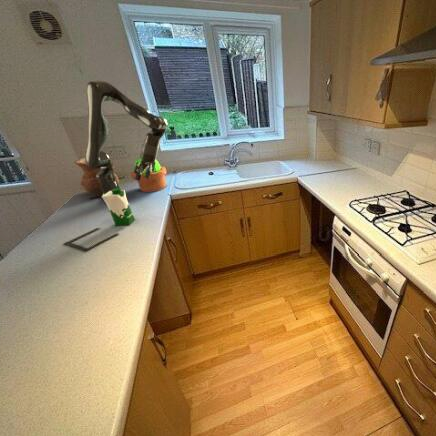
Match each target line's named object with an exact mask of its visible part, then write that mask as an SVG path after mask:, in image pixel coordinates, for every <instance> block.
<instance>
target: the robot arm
mask: <svg viewBox="0 0 436 436" xmlns="http://www.w3.org/2000/svg"><path fill="white" fill-rule="evenodd" d="M85 90H86V91H85V92H86V101H87V137H86V148H85V153H84V158H85V161H86V164H87V165H88V166H89V167H90V168H92V169H97V168H100V170H99V172H98V173H97V174H96V178H97V180H98V182H99V184H100V187H101V189H102V192H103V195H104V194H106V193H108V192H109V191H112V189H114V188H120V186H119V184H118V183H117V181H116V178H115V176H114V174H115V169H114V170H113V167H112V164H111V161H112V160H111V158H110V156H109V155H108V154H107V152H105V151H104V150H101V148H102V147H103V145H104V144H105V143H106V141H107V139H108V137H109V130H110V124H109V121H108V120H107V118H106V116H105V115H104V112H103V102H114V103H117V104H119V105H120V106H121V107H122V109H124V111H125V112H126V113H127V114H128V115H130V116H131V117H133V118H134V119H136V120H138V121H139V122H141V123H142V124H144V125H145V126H146V127H148V128H149V129H151V130H150V131H148V132H147V133H146V134H145V137H144V142H143V144H142V146H141V151H140V154H139V157H140V159H141V160H142V161H141V163H139V162H137V163H136V166H135V165H134V167H135V168H134V170H133V171H134V172H135V173H136V178H135V179H136V180H135V181H137V182H138V181H140V178H141V174H142V173H143V172H145V170H147V171H146V175H145V178H147V179H149V177H150V174H151V173H152V171H154V168H155V164H156V162H155V161H156V160H157V157H158V153H159V147H160V144H161V140H162V138H164V135H165V133H166V132H167V129H168V122H167V119H166V118H165V117H163V116H159V115H155V114H153V113H151V112H150V110H149V109H147V108H146V107H143V105H141V104H139V103H137V102H136V101H133V100H132V99H131V98H129V97H128V96H127V95H126V94H124V93H123V92H121V91H120V90H119V89H118V88H117V87H115V86H114V85H113V84H111V83H110V82H109V81H105V80H90V81H88V82H87V83H86V89H85ZM110 160H111V161H110ZM137 169H138V170H137ZM140 171H141V172H140ZM103 195H102V196H103ZM98 198H102V197H101V196H91V197H89V199H90V200H91V199H98ZM102 200H103V201H104V199H103V198H102Z"/></svg>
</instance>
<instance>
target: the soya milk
mask: <svg viewBox="0 0 436 436" xmlns="http://www.w3.org/2000/svg"><path fill="white" fill-rule="evenodd" d="M100 198H102V200H103V199H104V200H103V201H104V202H105V204H106V206H107V208H108V211H109V213H110V215H111V217H112V220H113V224H114V226H115V227H124V226H130V225H131V224H132V223H133V222H134V221H135V220H136V218H135V216H134V214H133V211H132V209H131V206H130V204H129V202H128V198H127V196H126V190H125V189H121V188H120V187H119V188H114V189H112V191H109V192H108V193H106V194H104V195H102V196H101V197H100Z"/></svg>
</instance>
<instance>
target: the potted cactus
mask: <svg viewBox="0 0 436 436" xmlns="http://www.w3.org/2000/svg"><path fill="white" fill-rule="evenodd" d="M141 161H142V160H141V159H140V156H138V158H136V160H135V161H134V167H133V168H134V169H135V166H136V163H137V162H139V163H141ZM155 162H156V164H155V168H154V171H152V173H151V174H150V177H149V179H147V178H145V175H146V171H147V170H145V172H143V173H142V174H141V178H140V181H137V180H136V179H135V178H136V173H135V172H134V170H133V171H131V172H130V175H131V178H132V180H134V181H137V184H138V186H139V189H140V191H141V192H145V193H152V192H153V193H154V192H158V191H161V190H163V189H165V188H166V187H167V186H168V185H167V181H166V178H165V175H167V169H166V167H165V166H161V164H160V163H159V161H158V160H157V159H156V161H155ZM137 170H138V169H137ZM140 172H141V171H140Z"/></svg>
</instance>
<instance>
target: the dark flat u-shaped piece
mask: <svg viewBox="0 0 436 436" xmlns="http://www.w3.org/2000/svg"><path fill="white" fill-rule="evenodd" d="M98 230H99V228H98V227H96V228H94V229H92V230H90V231H88V232H85V233H84V234H82V235H80V236H77V237H75V238H73V239H70V240H69V241H67V242H64V243H63V244H64V245H66V246H68V247H71V248H74V249H77V250H80V251H83V252H88V251H90V250H92V249H94V248H95V247H97V246H99V245H101V244H103V243H105V242H107V241H109V240H110V239H113V238H115V237H117V236H118V235H119V234H118V233H114V234H112V235H110V236H108V237H107V238H104V239H102V240H101V241H99V242H97V243H95V244H93V245H91V246H89V247H87V248H86V247H84V246H81V245H78V244H75V243H73V242H75V241H77V240H79V239H81V238H84V237H85V236H87V235H90V234H92V233H94V232H96V231H98Z"/></svg>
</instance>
